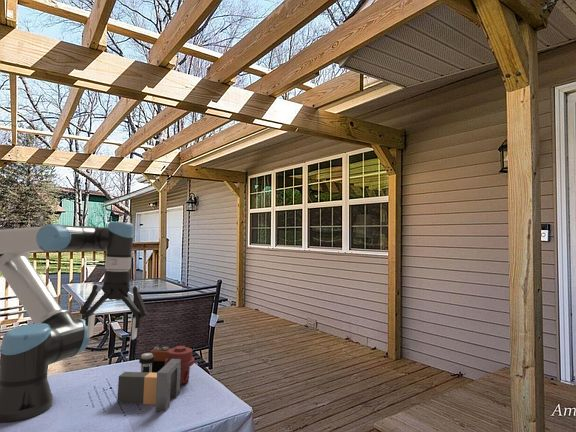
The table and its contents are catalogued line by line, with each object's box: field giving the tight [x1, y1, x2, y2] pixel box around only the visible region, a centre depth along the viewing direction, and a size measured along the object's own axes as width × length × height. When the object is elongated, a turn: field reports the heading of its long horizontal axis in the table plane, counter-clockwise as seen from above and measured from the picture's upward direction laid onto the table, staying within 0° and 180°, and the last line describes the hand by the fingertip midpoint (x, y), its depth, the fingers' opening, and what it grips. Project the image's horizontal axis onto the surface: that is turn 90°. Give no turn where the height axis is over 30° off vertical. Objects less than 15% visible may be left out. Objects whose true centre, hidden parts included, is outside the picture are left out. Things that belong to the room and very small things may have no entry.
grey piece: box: [154, 359, 181, 413], centre depth 115 cm, size 3×13×11 cm, turn 179°
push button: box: [138, 352, 155, 373], centre depth 128 cm, size 7×5×10 cm
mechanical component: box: [165, 345, 195, 386], centre depth 130 cm, size 12×10×10 cm
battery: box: [149, 346, 171, 373], centre depth 137 cm, size 4×7×10 cm, turn 88°
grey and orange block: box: [117, 371, 157, 405], centre depth 115 cm, size 12×4×8 cm, turn 89°
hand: (112, 337), depth 117 cm, fingers open, 13 cm apart
